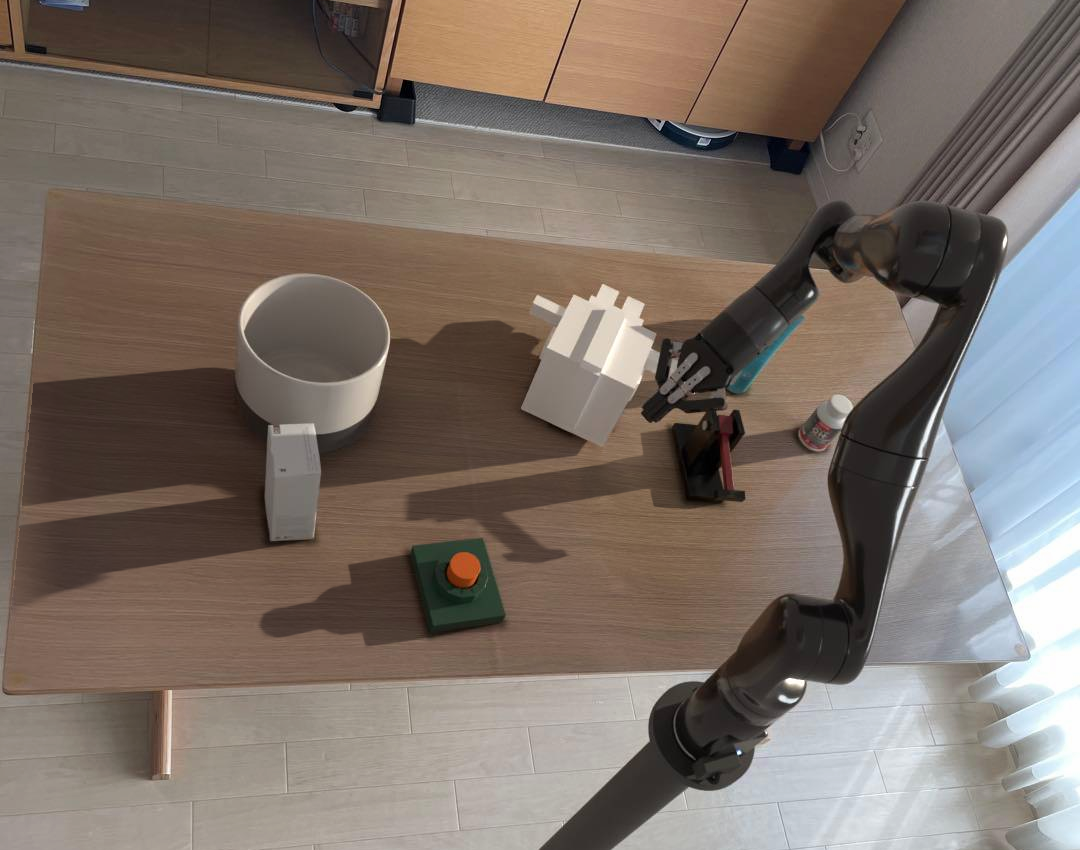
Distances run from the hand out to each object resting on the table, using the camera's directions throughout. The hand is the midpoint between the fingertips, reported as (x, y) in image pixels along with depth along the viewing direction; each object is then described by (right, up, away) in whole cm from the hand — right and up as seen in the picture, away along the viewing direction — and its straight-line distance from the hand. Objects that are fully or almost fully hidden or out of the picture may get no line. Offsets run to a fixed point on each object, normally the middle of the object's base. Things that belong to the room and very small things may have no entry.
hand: (645, 418), depth 135 cm
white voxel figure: (-7, +9, +28) cm, 30 cm away
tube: (+19, +9, +36) cm, 42 cm away
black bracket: (+10, -5, +23) cm, 26 cm away
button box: (-26, -23, -1) cm, 34 cm away
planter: (-48, +2, +8) cm, 49 cm away
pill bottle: (+32, -1, +34) cm, 47 cm away
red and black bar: (+13, -5, +15) cm, 20 cm away
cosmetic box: (-48, -13, -2) cm, 50 cm away
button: (-25, -21, -4) cm, 33 cm away
